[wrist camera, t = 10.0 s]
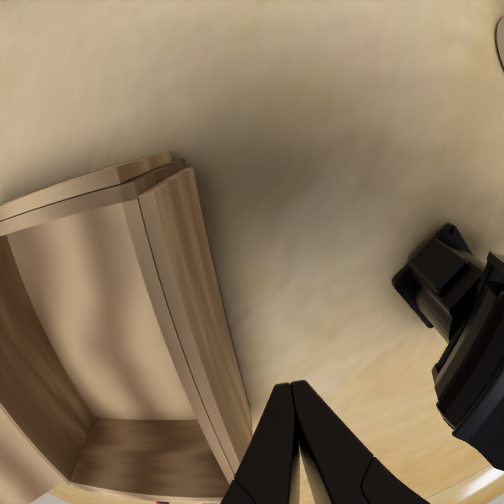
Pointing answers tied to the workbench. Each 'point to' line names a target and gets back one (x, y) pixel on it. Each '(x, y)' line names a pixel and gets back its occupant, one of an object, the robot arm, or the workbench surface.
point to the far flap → (21, 468)
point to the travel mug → (501, 39)
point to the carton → (120, 336)
